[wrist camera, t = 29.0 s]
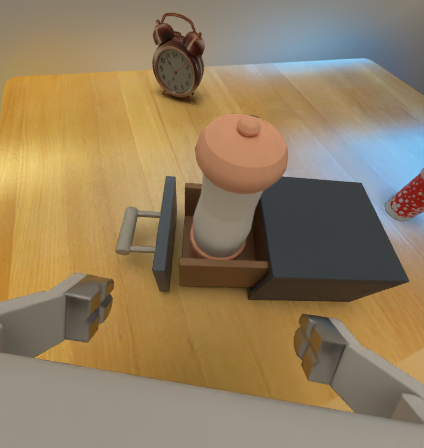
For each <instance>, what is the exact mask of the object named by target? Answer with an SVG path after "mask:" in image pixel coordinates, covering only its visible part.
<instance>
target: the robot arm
mask: <svg viewBox="0 0 424 448" xmlns="http://www.w3.org/2000/svg"><path fill="white" fill-rule="evenodd" d="M113 289H114V281H113V279H108V278H103V277H98V276H93V275H88V274H83V273H74V274H73V275H71V276H70V277H68V278H67V279H65V280H64V281H62V282H61V283H60V284H58V285H57V286H55V287H54V288H52V289H51V290H49V291H48V292H46V291H42V292H38V293H34V294H30V295H26V296H22V297H18V298H15V299H11V300H7V301H3V302H0V448H424V384H422V383H421V382H419V381H418V380H416V379H414V378H413V377H411V376H410V375H408V374H407V373H405V372H403V371H402V370H400V369H399V368H397V367H396V366H394V365H393V364H391V363H390V362H388V361H387V360H385V359H383V358H382V357H380V356H379V355H377V354H376V353H374V352H373V351H371V350H369V349H368V348H364V347H363V346H362V345H361V344H360V343H359V341H358V340H357V339H356V338H355V337H354V336H353V334H352V333H351V332H350V331H349V330H348V328H347V327H346V326H345V325H344V324H343V323H342V321H340V320H339V319H335V318H328V317H321V316H314V315H308V314H302V315H301V317H300V319H299V324H300V328H299V329H298V330H296V332H295V335H294V349H295V352H296V354H297V356H298V357H299V358H300V359H301V360H302V364H301V366H302V368H303V370H304V372H305V375H306V377H307V379H308V381H313V382H318V383H323V384H328V385H330V386H331V387H332V389H333V390H334V391H335V392H336V393H337V394H338V395H339V396H340V397H341V398H342V399H343V400H344V401H345V402H346V404H347V405H348V406H349V407H350V408H351V409H352V410H353V411H354V412H355V413H353V412H347V411H341V410H335V409H329V408H324V407H318V406H312V405H306V404H300V403H294V402H288V401H283V400H277V399H271V398H265V397H259V396H253V395H247V394H241V393H235V392H230V391H224V390H218V389H212V388H206V387H200V386H194V385H188V384H183V383H177V382H171V381H165V380H159V379H153V378H147V377H142V376H136V375H130V374H124V373H118V372H112V371H106V370H101V369H95V368H89V367H83V366H77V365H71V364H65V363H60V362H54V361H48V360H42V359H36V358H34V357H36V356H38V355H39V354H41V353H43V352H45V351H47V350H48V349H50V348H52V347H54V346H55V345H57V344H59V343H61V342H62V341H64V339H67V340H74V341H81V342H89V341H90V339H91V338H92V337H93V335H94V334H95V333H96V331H97V330H98V324H100V323H102V322H104V321H105V320H106V318H107V317H108V315H109V313H110V310H111V307H112V301H113V298H112V296H111V295H110V293H111V292H112V290H113Z"/></svg>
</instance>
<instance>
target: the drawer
mask: <svg viewBox="0 0 424 448" xmlns="http://www.w3.org/2000/svg"><path fill="white" fill-rule="evenodd" d="M201 189H202V184H194V183H185V220H184V234H183V248H182V258H179V277H180V286H216V287H255V286H256V285H257V284H258V283H259V282H260V281H261V280H262V279H263V278H264V277H266V276H267V275H268V274H269V273H270V271H269V264H268V257H267V251H266V244H265V237H264V230H263V224H262V217H261V210H260V204H259V201H258V203H257V206H256V208H255V211H254V216H253V221H252V226H251V230H250V232H249V234H248V236H247V238H246V244H245V247H244V249H243V251H242V253H241V254H240V256H239V258H238V260H217V259H193V258H192V256H191V253H190V248H189V238H190V230H191V227H192V224H193V216H194V213H195V209H196V207H197V204H198V201H199V198H200V195H201ZM137 217H152V218H160V220H159V227H158V234H157V241H156V247H149V246H132V241H133V236H134V231H135V227H136V222H137ZM176 217H177V200H176V178H175V177H171V176H166V179H165V186H164V193H163V200H162V207H161V212H153V211H138V209H137V208H135V207H127V208H126V210H125V214H124V218H123V222H122V226H121V230H120V234H119V238H118V242H117V246H116V250H115V252H116V253H117V254H120V255H128V254H130V252H139V253H155V255H154V261H153V268H152V271H153V274H154V276H155V279H156V282H157V285H158V288H159V290H160V291H169V288H170V278H171V268H172V258H173V248H174V237H175V227H176Z"/></svg>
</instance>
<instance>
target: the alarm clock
mask: <svg viewBox="0 0 424 448" xmlns="http://www.w3.org/2000/svg"><path fill="white" fill-rule="evenodd" d="M166 16H176V17H180V18H182V19H184V20H186V21H188V22H189V23H190V24H191V26H192V29H193V32H189V33H188V34H187V35H186V36H185V37H184V36H181V33H179V32H174V31H173V29H172V27H171V26H170V25H168V24H166V23H163V21H164V19H165V17H166ZM156 23H157V26H155V30H154V32H153V38H154V41H155V44H156V45H158V44H160V45H159V46H158V48H157V49H156V51H155V53H154V56H153V62H152V63H153V71H154V74H155V77H156V79H157V81H158V83H159V84H160V86H161V87H162V88H163V89H164V93H163V95H165V93H166V92H167V93H169V94H171V95H173V96H175V97H186V98H187V99H188V102H189V103H190V102H191V101H190V99H189V95H190V94H191V93H192V95H193V94H194V93H193V92H194V91H195V90H196V88H197V87H198V86H199V84H200V81H201V79H202V76H203V71H204V65H203V60H202V54H203V51H204V48H205V47H204V46H205V45H204V41H203V39H202V37H201V32H199V33H198V34H197V33H196V31H195V28H194V25H193V23H192V21H191V20H190V19H188V18H186V17H185V16H183V15H180V14H176V13H166V14H164V16H163V18H162V20H161V23H160V21H159V20H156Z"/></svg>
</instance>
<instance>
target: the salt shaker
mask: <svg viewBox="0 0 424 448" xmlns="http://www.w3.org/2000/svg"><path fill="white" fill-rule="evenodd" d="M195 153H196V159H197V162H198V165H199V167H200V168H201V170H202V172H203V180H202V189H201V195H200V198H199V201H198V204H197V207H196V209H195V213H194V216H193V224H192V227H191V230H190V238H189V248H190V253H191V256H192V258H193V259H217V260H238V258H239V256H240V254H241V253H242V251H243V249H244V247H245V244H246V238H247V236H248V234H249V232H250V230H251V226H252V221H253V216H254V211H255V208H256V206H257V203H258V201H259V199H260V197H261V195H262V193H263V191H264V190H265V189H267V188H269V187H270V186H271V185H273V184H274V183H275V182H277V181H278V180H279V179H280V178H281V177H282V175H283V174H284V172H285V170H286V167H287V161H288V150H287V146H286V143H285V140H284V138H283V136H282V134H281V133H280V132H279V131H278V130H277V129H276V128H275V127H274V126H272V125H271V124H270V123H268V122H267V121H264V120H262V119H260V118H257V117H254V116H250V115H245V114H229V115H223V116H220V117H218V118H216V119H214V120H213V121H211V122H210V123H209V124H208V125H207V126H206V127H205V128H204V129H203V130H202V131H201V134H200V136H199V139H198V141H197V144H196V147H195Z"/></svg>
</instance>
